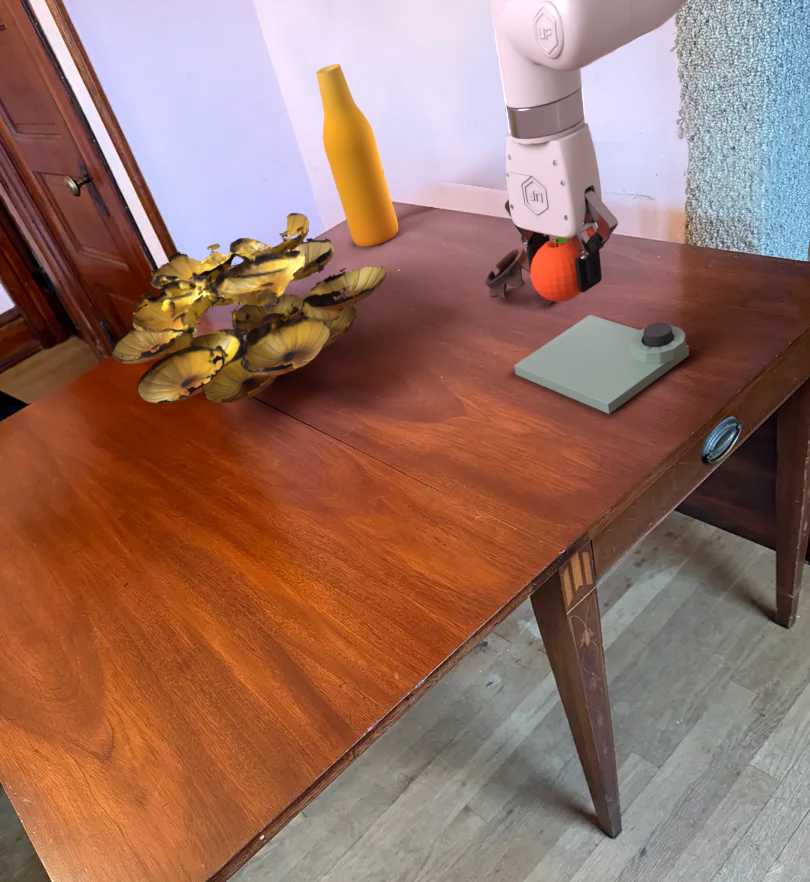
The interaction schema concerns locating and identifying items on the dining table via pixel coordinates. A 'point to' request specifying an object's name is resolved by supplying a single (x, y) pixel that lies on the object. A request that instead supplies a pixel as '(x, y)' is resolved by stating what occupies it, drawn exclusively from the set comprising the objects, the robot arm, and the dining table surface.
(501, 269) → the broken mug
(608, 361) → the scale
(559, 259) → the clementine
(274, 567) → the dining table surface
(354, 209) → the beer bottle
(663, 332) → the tare button
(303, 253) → the mushroom
